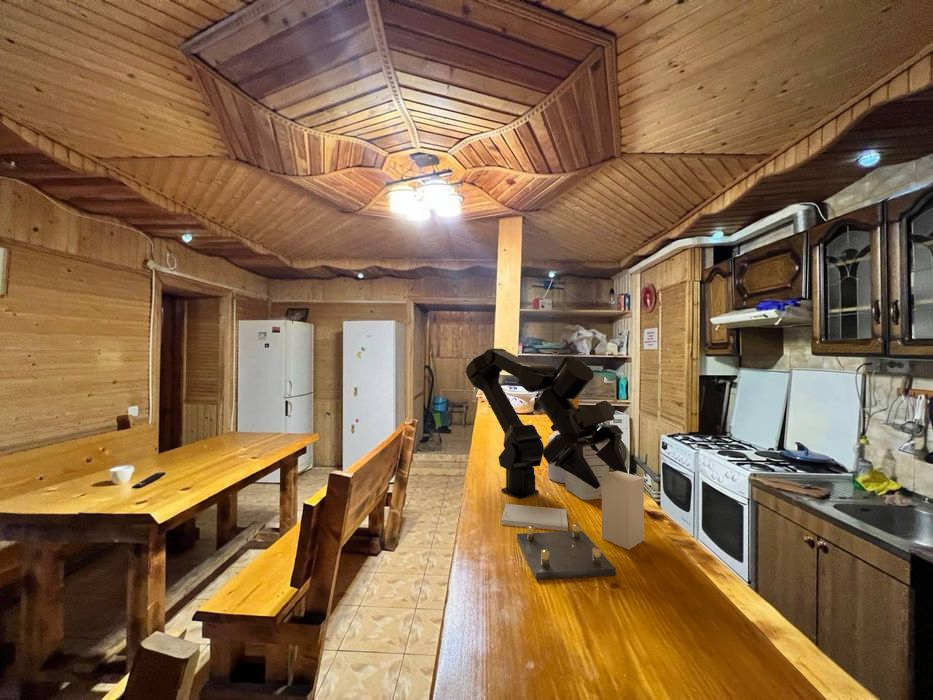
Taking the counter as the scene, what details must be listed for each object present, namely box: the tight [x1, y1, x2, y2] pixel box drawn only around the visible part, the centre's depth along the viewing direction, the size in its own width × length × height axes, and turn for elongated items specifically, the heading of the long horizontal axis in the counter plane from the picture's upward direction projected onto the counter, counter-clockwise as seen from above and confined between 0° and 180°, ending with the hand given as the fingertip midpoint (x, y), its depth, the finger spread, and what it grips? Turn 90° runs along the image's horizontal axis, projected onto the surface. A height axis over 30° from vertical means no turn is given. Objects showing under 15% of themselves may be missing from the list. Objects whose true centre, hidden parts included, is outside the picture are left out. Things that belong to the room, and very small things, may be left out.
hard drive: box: [500, 503, 569, 532], centre depth 75 cm, size 2×8×12 cm
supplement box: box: [565, 446, 610, 501], centre depth 88 cm, size 7×7×13 cm
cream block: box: [601, 470, 645, 550], centre depth 66 cm, size 5×5×11 cm
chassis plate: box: [516, 522, 617, 581], centre depth 61 cm, size 12×12×3 cm
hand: (613, 482), depth 68 cm, fingers open, 9 cm apart
